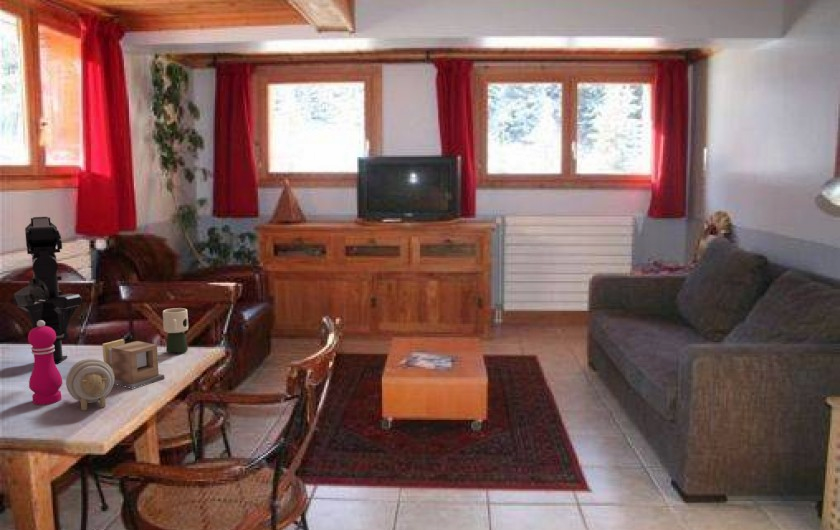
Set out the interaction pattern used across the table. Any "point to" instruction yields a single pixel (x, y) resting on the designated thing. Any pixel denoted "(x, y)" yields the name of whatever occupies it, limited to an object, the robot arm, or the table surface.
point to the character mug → (176, 329)
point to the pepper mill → (44, 366)
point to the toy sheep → (90, 381)
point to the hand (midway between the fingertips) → (50, 330)
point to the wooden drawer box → (135, 364)
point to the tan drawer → (107, 346)
